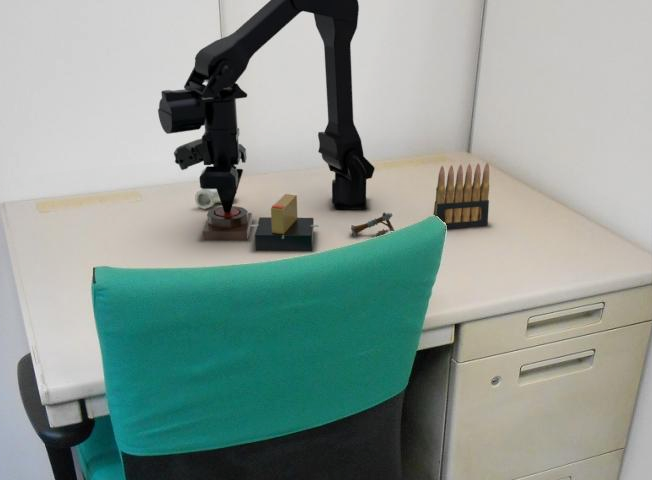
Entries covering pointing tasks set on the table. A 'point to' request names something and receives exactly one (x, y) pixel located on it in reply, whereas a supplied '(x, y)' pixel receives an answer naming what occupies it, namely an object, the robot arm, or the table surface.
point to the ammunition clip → (463, 198)
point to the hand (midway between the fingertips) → (227, 211)
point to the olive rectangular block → (284, 213)
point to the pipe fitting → (207, 198)
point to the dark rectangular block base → (285, 236)
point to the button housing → (227, 225)
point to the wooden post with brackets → (372, 223)
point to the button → (227, 213)
